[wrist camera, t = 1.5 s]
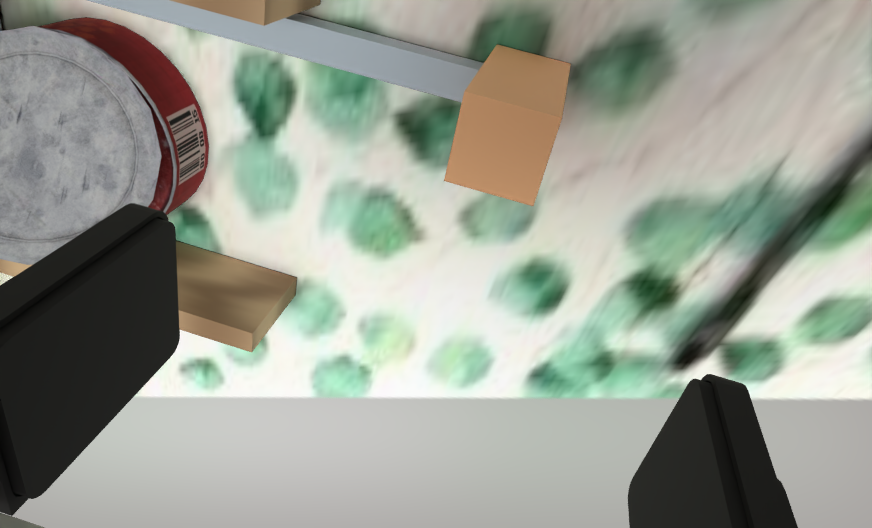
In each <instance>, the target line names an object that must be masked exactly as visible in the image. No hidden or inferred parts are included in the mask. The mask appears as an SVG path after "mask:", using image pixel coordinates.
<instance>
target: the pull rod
mask: <svg viewBox="0 0 872 528" xmlns="http://www.w3.org/2000/svg"><path fill="white" fill-rule="evenodd" d="M88 1H91V2H95V3H99V4H102V5H106V6H110V7H113V8H117V9H121V10H124V11H128V12H132V13H135V14H139V15H143V16H146V17H150V18H154V19H157V20H161V21H165V22H168V23H172V24H176V25H179V26H183V27H187V28H190V29H194V30H198V31H201V32H205V33H209V34H212V35H216V36H220V37H223V38H227V39H231V40H234V41H238V42H242V43H245V44H249V45H253V46H256V47H260V48H264V49H267V50H271V51H275V52H278V53H282V54H286V55H289V56H293V57H297V58H300V59H304V60H308V61H312V62H315V63H319V64H323V65H326V66H330V67H334V68H337V69H341V70H345V71H348V72H352V73H356V74H359V75H363V76H367V77H370V78H374V79H378V80H381V81H385V82H389V83H392V84H396V85H400V86H403V87H407V88H411V89H414V90H418V91H422V92H425V93H429V94H433V95H436V96H440V97H444V98H447V99H451V100H455V101H458V102H462V104H461V108H460V113H459V117H458V122H457V126H456V130H455V135H454V139H453V144H452V148H451V152H450V157H449V161H448V166H447V170H446V175H445V179H444V181H446V182H450V183H453V184H457V185H460V186H464V187H467V188H471V189H474V190H478V191H482V192H485V193H489V194H492V195H496V196H499V197H503V198H506V199H510V200H513V201H517V202H520V203H524V204H527V205H531V206H534V202H535V199H536V196H537V193H538V190H539V187H540V184H541V181H542V178H543V175H544V172H545V169H546V166H547V163H548V159H549V156H550V153H551V150H552V147H553V144H554V141H555V138H556V135H557V132H558V129H559V126H560V123H561V120H562V115H563V109H564V103H565V96H566V90H567V84H568V78H569V72H570V65H571V64H570V63H566V62H562V61H558V60H555V59H551V58H547V57H543V56H539V55H535V54H532V53H528V52H524V51H520V50H516V49H513V48H509V47H505V46H501V45H496V46H495V48H494V49H493V51H492V52H491V54H490V55H489V56H488V58H487V59H486V61H485V62H484V63H482V62H478V61H474V60H471V59H467V58H463V57H459V56H456V55H452V54H448V53H444V52H441V51H437V50H433V49H429V48H426V47H422V46H418V45H414V44H411V43H407V42H403V41H399V40H395V39H392V38H388V37H384V36H380V35H377V34H373V33H369V32H365V31H362V30H358V29H354V28H350V27H347V26H343V25H339V24H335V23H332V22H328V21H324V20H320V19H317V18H313V17H309V16H305V15H302V14H298V13H297V14H294V15H291V16H289V17H286V18H283V19H281V20H278V21H276V22H273V23H270V24H268V25H265V26H263V25H259V24H255V23H252V22H248V21H244V20H240V19H237V18H233V17H229V16H226V15H222V14H218V13H214V12H211V11H207V10H203V9H200V8H196V7H192V6H188V5H185V4H181V3H177V2H174V1H170V0H88ZM0 31H2V27H1V21H0Z"/></svg>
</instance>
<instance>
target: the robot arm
mask: <svg viewBox="0 0 872 528" xmlns="http://www.w3.org/2000/svg"><path fill="white" fill-rule="evenodd" d="M179 337H180V331H179V307H178V282H177V258H176V233H175V227H174V225H173V224H172V223H171V222H169V221H168V217H167V215H166V214H165V213H164V212H162V211H159V210H156V209H152V208H149V207H146V206H142V205H139V204H136V203H130V204H127V205H125V206H124V207H122V208H120V209H119V210H117V211H116V212H114V213H113V214H111V215H110V216H108V217H106V218H105V219H103V220H102V221H100V222H99V223H97V224H96V225H94V226H92V227H91V228H89V229H88V230H86V231H85V232H83V233H81V234H80V235H78V236H77V237H75V238H74V239H72V240H71V241H69V242H67V243H66V244H64V245H63V246H61V247H60V248H58V249H57V250H55V251H53V252H52V253H50V254H49V255H47V256H46V257H44V258H42V259H41V260H39V261H38V262H36V263H35V264H33V265H32V266H30V267H28V268H27V269H25V270H24V271H22V272H21V273H19V274H18V275H16V276H14V277H13V278H11V279H10V280H8V281H7V282H5V283H4V284H2V285H0V512H2V513H5V514H8V515H11V516H8V515H5V514H2V513H0V528H44V527H41V526H38V525H35V524H32V523H30V522H26V521H24V520H20V519H18V518H15V517H12V515H13V514H14V513H15V512H16V511H17V510H18V509H19V508H20V507H21V506H22V505H23V504H24V503H25V501H27V500H28V498H31V499H34V498H37V497H38V496H40V495H42V494H43V493H44V492H45V491H46V490H47V489H48V488H49V487H50V486H51V485H52V483H53V482H54V481H55V480H56V479H57V478H58V477H59V476H60V475H61V474H62V473H63V472H64V471H65V470H66V469H67V467H68V466H69V465H70V464H71V463H72V462H73V461H74V460H75V459H76V458H77V456H79V455H80V454H81V452H82V451H83V450H84V449H85V448H86V447H87V446H88V445H89V444H90V443H91V442H92V441H93V440H94V439H95V437H96V436H97V435H98V434H99V433H100V432H101V431H102V430H103V429H104V428H105V427H106V426H107V425H108V423H109V422H110V421H111V420H112V419H113V418H114V417H115V416H116V415H117V414H118V413H119V412H120V410H122V408H123V407H124V406H125V405H126V404H127V403H128V402H129V401H130V400H131V399H132V398H133V397H134V396H135V395H136V393H137V392H138V391H139V390H140V389H141V388H142V387H143V386H144V385H145V384H146V383H147V382H148V381H149V380H150V378H151V377H152V376H153V375H154V374H155V373H156V372H157V371H158V370H159V369H160V368H161V367H162V366H163V364H164V363H165V362H166V361H167V360H168V359H169V358H170V357H171V356H172V355H173V353H174V352H175V350H176V348H177V346H178V343H179ZM628 508H629V523H630V528H798V527H797V524H796V521H795V518H794V515H793V512H792V509H791V506H790V503H789V500H788V497H787V494H786V491H785V489H784V487H783V485H782V483H781V482H780V481H779V480H778V479H777V477H776V474H775V471H774V468H773V466H772V462H771V459H770V456H769V453H768V450H767V447H766V444H765V441H764V438H763V435H762V432H761V429H760V426H759V423H758V420H757V417H756V413H755V411H754V407H753V404H752V401H751V398H750V395H749V392H748V390H747V388H746V386H745V385H744V384H742V383H739V382H735V381H732V380H728V379H725V378H722V377H718V376H715V375H712V374H707V375H706V376H704V377H703V378H702V380H698V379H692V380H691V381H690V382H689V384H688V385H687V387H686V389H685V390H684V392H683V394H682V395H681V397H680V399H679V400H678V402H677V404H676V406H675V407H674V409H673V411H672V412H671V414H670V416H669V417H668V419H667V421H666V422H665V424H664V426H663V428H662V429H661V431H660V433H659V434H658V436H657V438H656V439H655V441H654V443H653V445H652V446H651V448H650V450H649V452H648V453H647V455H646V457H645V458H644V460H643V461H642V463H641V465H640V467H639V468H638V470H637V472H636V473H635V475H634V477H633V479H632V481H631V484H630V488H629V493H628Z"/></svg>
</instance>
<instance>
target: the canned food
mask: <svg viewBox="0 0 872 528" xmlns="http://www.w3.org/2000/svg"><path fill="white" fill-rule="evenodd" d="M208 152H209V144H208V136H207V129H206V125H205V122H204V118H203V115H202V112H201V109H200V106H199V104H198V102H197V100H196V98H195V96H194V94H193V92H192V90H191V88H190V87H189V85H188V84H187V82H186V81H185V79H184V78H183V76H182V75H181V74H180V72H179V71H178V69H177V68H176V67H175V66H174V65H173V64H172V63H171V62H170V60H169V59H168V58H167V57H166V56H165V55H164V54H163V53H162V52H161V51H160V50H159V49H157V48H156V47H155V46H154V45H152V44H151V43H150V42H149V41H147V40H146V39H145V38H144V37H142V36H140V35H138V34H137V33H135V32H133V31H131V30H130V29H128V28H126V27H124V26H121V25H118V24H116V23H113V22H110V21H107V20H102V19H95V18H87V17H85V18H77V19H69V20H65V21H60V22H56V23H52V24H47V25H43V26H38V27H36V26H29V27H23V28H17V29H12V30H4V31H0V259H2V260H7V261H11V262H16V263H21V264H25V265H32V264H35V263H36V262H38V261H39V260H41V259H42V258H44V257H46V256H47V255H49V254H50V253H52V252H53V251H55V250H57V249H58V248H60V247H61V246H63V245H64V244H66V243H67V242H69V241H71V240H72V239H74V238H75V237H77V236H78V235H80V234H81V233H83V232H85V231H86V230H88V229H89V228H91V227H92V226H94V225H96V224H97V223H99V222H100V221H102V220H103V219H105V218H106V217H108V216H110V215H111V214H113V213H114V212H116V211H117V210H119V209H120V208H122V207H124V206H125V205H127V204H130V203H136V204H139V205H142V206H146V207H149V208H152V209H156V210H159V211H162V212H164V213H165V214H166V215H167V214H169V213H170V212H171V211H173V210H174V209H175V208H177V207H178V206H180V205H181V204H182V203H184V202H185V201H187V200H188V199H189V198H190V197H191V196H192V195H193V194H194V193H195V192H196V191H197V189H198V187H199V185H200V184H201V182H202V180H203V179H204V175H205V172H206V168H207V165H208Z"/></svg>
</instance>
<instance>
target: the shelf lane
mask: <svg viewBox="0 0 872 528" xmlns="http://www.w3.org/2000/svg"><path fill="white" fill-rule="evenodd" d="M170 1H174V2H177V3H181V4H185V5H188V6H192V7H196V8H200V9H203V10H207V11H211V12H214V13H218V14H222V15H226V16H229V17H233V18H237V19H240V20H244V21H248V22H252V23H255V24H259V25H263V26H265V25H268V24H270V23H273V22H276V21H278V20H281V19H283V18H286V17H289V16H291V15H294V14H297V13H299V12H302V11H305V10H307V9H310V8H312V7H315V6H318V5H320V0H170ZM176 258H177V282H178V307H179V329H180V330H183V331H186V332H190V333H193V334H196V335H199V336H202V337H205V338H208V339H212V340H215V341H218V342H221V343H224V344H227V345H230V346H234V347H237V348H240V349H243V350H246V351H249V352H252V351H253V350H254V349H255V348H256V346H257V345H258V344H259V342H260V341H261V340H262V338H263V337H264V336H265V334H266V333H267V332H268V330H269V329H270V328H271V327H272V325H273V324H274V323H275V321H276V320H277V319H278V317H279V316H280V315H281V313H282V312H283V311H284V310H285V308H286V307H287V306H288V304H289V303H290V302H291V300H292V299H293V298H294V296H295V294H296V282H297V278H296V277H293V276H290V275H286V274H283V273H280V272H277V271H273V270H270V269H267V268H263V267H260V266H257V265H254V264H250V263H247V262H244V261H241V260H237V259H234V258H231V257H227V256H224V255H221V254H218V253H214V252H211V251H208V250H205V249H201V248H198V247H195V246H191V245H188V244H185V243H182V242H178V241H176ZM32 265H33V264H32ZM32 265H25V264H21V263H16V262H11V261H7V260H2V259H0V272H1V273H4V274H8V275H11V276H16V275H18V274H19V273H21V272H22V271H24V270H25V269H27V268H28V267H30V266H32Z"/></svg>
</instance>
